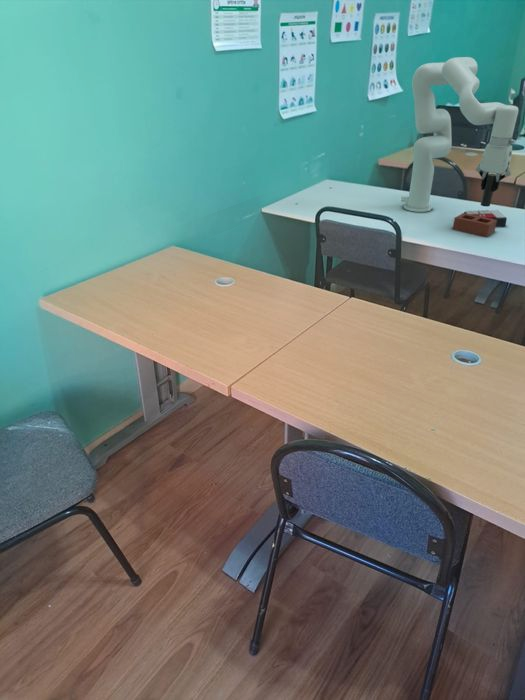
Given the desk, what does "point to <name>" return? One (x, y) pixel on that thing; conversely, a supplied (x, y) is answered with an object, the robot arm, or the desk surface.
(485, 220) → the hollow brick
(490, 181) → the peg
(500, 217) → the calculator
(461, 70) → the robot arm
